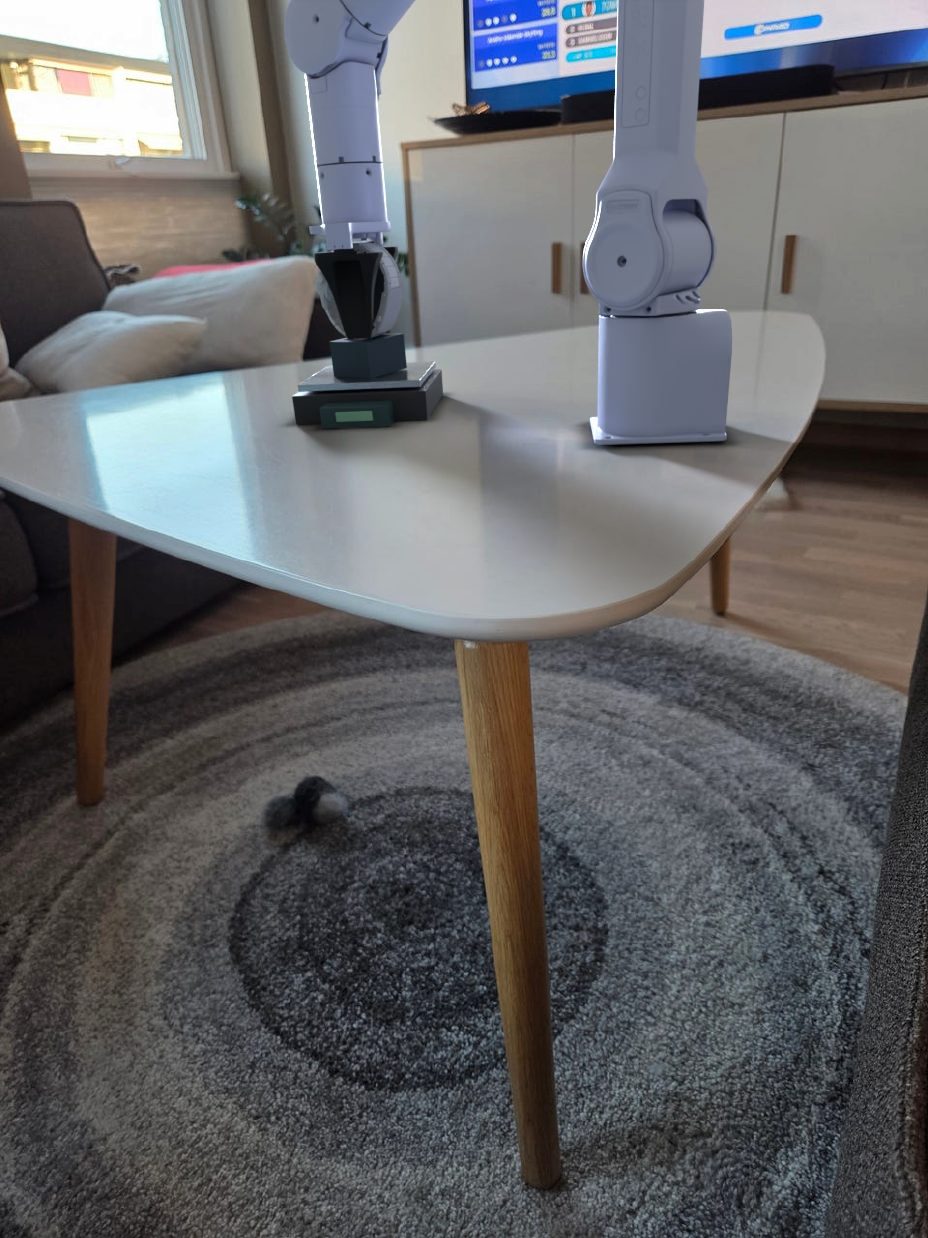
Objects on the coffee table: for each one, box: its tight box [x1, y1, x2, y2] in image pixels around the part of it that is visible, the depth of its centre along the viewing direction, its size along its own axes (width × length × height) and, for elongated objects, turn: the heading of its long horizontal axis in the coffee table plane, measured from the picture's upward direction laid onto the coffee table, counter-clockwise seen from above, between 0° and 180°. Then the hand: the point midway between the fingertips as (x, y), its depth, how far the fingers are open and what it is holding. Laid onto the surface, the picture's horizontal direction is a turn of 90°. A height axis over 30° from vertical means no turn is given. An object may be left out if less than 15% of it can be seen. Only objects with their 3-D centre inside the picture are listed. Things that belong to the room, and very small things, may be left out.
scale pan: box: [297, 360, 437, 392], centre depth 77 cm, size 11×11×1 cm
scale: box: [291, 368, 444, 430], centre depth 77 cm, size 12×14×2 cm
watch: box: [315, 242, 407, 379], centre depth 74 cm, size 6×8×11 cm
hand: (366, 333), depth 75 cm, fingers closed on watch, 6 cm apart
